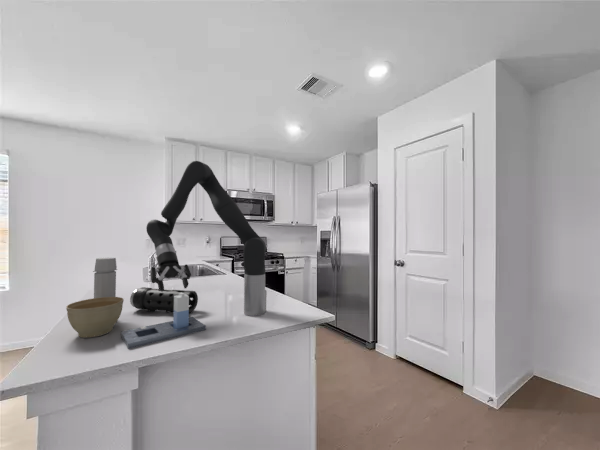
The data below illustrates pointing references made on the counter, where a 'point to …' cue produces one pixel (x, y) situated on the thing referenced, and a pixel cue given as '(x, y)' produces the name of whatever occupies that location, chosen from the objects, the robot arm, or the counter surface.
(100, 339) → the counter surface
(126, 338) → the panel
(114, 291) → the water bottle
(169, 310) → the muzzle brake
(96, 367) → the counter surface
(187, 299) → the plug
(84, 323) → the planter bowl
